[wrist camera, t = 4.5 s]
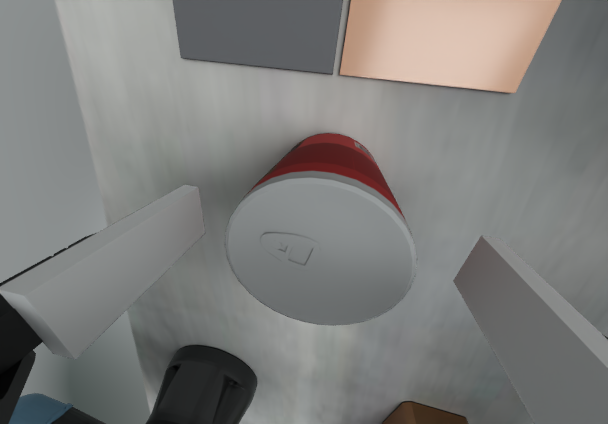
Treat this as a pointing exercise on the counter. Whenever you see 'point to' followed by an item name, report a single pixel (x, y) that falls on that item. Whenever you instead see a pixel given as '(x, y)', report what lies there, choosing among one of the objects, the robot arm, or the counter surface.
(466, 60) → the terracotta tile
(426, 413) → the whiskey bottle
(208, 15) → the charcoal mat
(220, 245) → the counter surface
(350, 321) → the canned food
